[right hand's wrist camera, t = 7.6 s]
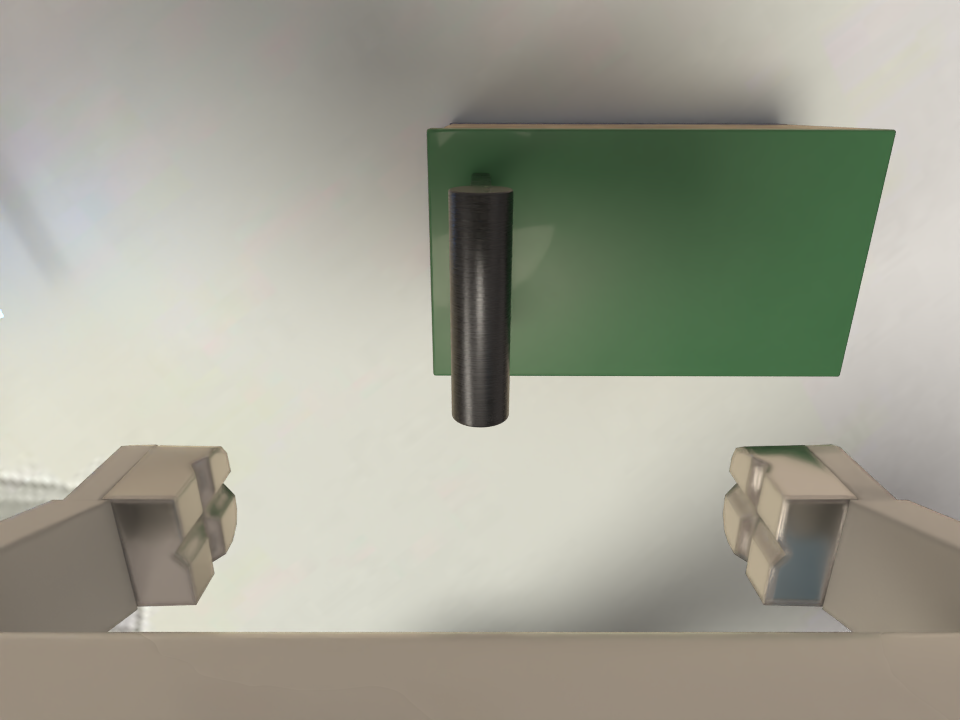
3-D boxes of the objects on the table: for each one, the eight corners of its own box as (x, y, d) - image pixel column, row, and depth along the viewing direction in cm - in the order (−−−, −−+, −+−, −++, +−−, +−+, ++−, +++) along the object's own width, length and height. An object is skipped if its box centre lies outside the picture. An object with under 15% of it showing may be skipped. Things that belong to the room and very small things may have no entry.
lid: (435, 364, 28) (416, 467, 20) (429, 127, 24) (403, 136, 16) (824, 366, 28) (963, 469, 20) (877, 128, 24) (1072, 137, 16)
